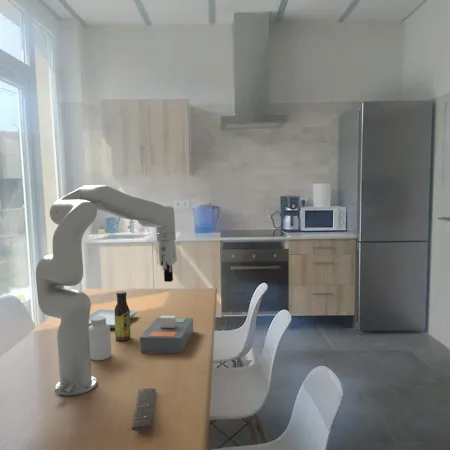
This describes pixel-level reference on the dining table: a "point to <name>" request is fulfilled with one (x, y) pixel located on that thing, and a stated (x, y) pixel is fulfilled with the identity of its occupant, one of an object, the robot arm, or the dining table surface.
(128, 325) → the sauce bottle
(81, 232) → the robot arm
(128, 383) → the dining table surface
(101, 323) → the pill bottle
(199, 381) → the dining table surface
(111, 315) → the salad plate
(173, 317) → the switch knob
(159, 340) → the switch box
